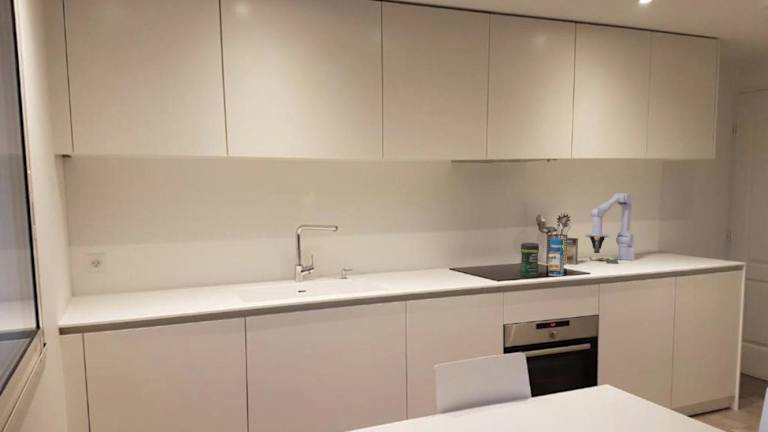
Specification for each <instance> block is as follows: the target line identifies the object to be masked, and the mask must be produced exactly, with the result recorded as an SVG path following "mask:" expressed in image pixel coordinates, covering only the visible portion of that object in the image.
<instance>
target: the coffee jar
mask: <svg viewBox="0 0 768 432" xmlns="http://www.w3.org/2000/svg"><path fill="white" fill-rule="evenodd" d="M539 245H540V244H539V243H536V242H522V243H521V244H520V253H521V259H520V260H521V261H520V270H519V275H520V276H521V277H522V278H523V277H526V278H537V277H539V263H538V262H539V261H538V260H539V258H538V257H539V256H538V255H539V253H540V248H539V247H540V246H539Z"/></svg>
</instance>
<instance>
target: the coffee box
mask: <svg viewBox="0 0 768 432" xmlns="http://www.w3.org/2000/svg"><path fill="white" fill-rule="evenodd" d="M566 238H567V261H566V263H567V265H576V264H578V252H579V251H578V250H579V248H578V247H579V238H577V237H566Z"/></svg>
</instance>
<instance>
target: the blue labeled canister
mask: <svg viewBox="0 0 768 432" xmlns="http://www.w3.org/2000/svg"><path fill="white" fill-rule="evenodd" d="M549 245H550V247H549V248H548V255H547V258H548V261H547V263H548V267H547V270H548V271H547V273H548V276H553V277H562V276H564V272H565V271H564V268H565V267H564V266H565V264H564V254H563V253H564V250H563V248H562V245H563V239H562V238H551V239H550V240H549Z"/></svg>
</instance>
